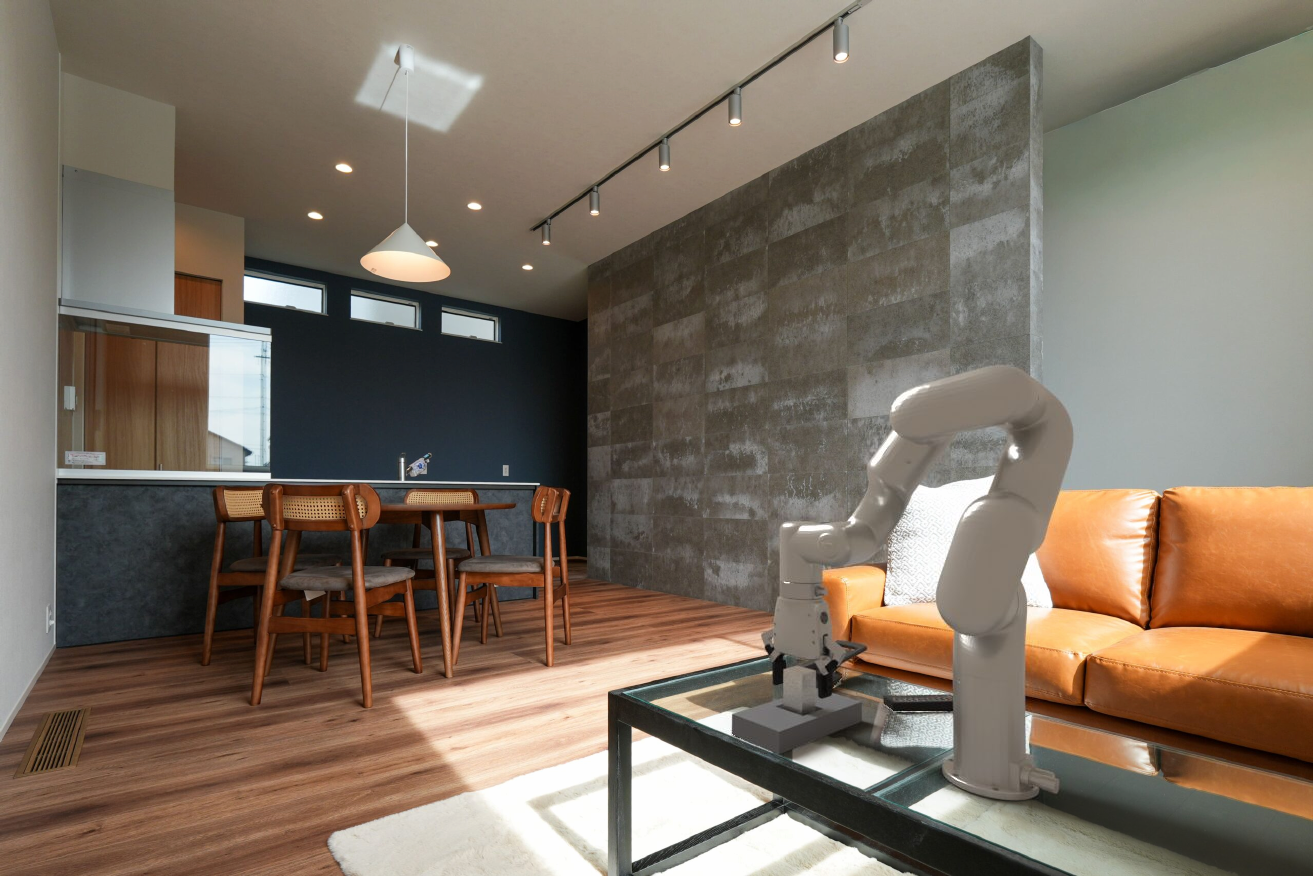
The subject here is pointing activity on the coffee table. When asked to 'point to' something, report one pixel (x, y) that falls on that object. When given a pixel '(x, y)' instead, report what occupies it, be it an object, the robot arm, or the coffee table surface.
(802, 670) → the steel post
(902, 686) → the coffee table surface
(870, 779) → the coffee table surface
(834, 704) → the grey block with hole
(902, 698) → the multiport hub
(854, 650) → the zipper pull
